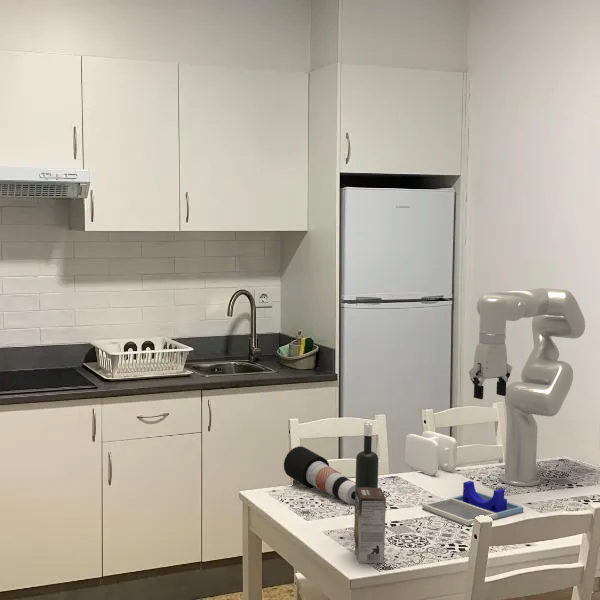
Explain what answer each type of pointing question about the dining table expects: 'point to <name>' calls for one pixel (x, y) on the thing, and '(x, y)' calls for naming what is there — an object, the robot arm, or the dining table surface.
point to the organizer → (430, 452)
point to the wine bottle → (366, 464)
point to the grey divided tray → (467, 510)
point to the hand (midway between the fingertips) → (489, 396)
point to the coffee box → (370, 525)
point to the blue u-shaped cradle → (474, 499)
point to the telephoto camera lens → (318, 474)
